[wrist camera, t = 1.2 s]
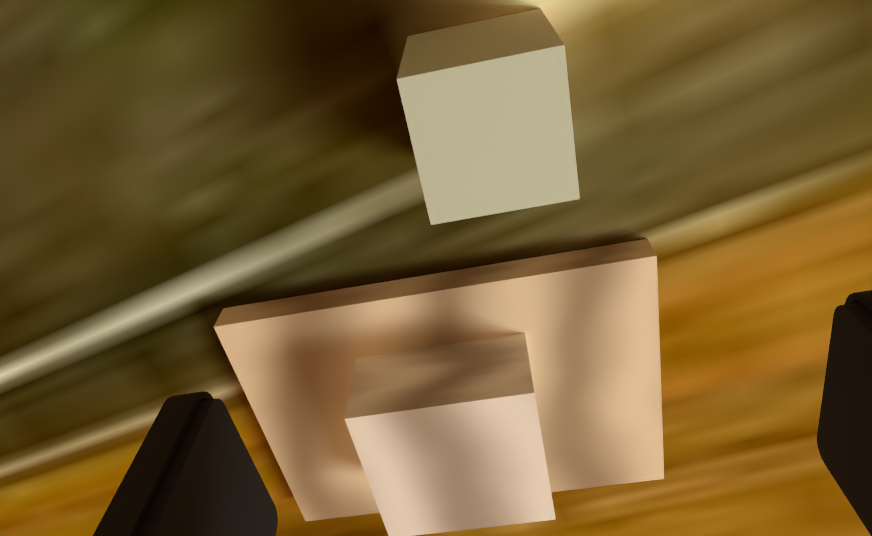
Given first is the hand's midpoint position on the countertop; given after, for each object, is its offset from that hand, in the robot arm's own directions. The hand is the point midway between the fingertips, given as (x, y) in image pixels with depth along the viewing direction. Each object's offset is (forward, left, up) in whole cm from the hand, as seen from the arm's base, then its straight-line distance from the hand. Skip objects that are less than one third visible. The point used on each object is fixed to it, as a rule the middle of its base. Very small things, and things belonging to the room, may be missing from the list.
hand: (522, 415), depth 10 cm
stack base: (+4, +15, -18) cm, 24 cm away
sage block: (0, 0, -18) cm, 18 cm away
